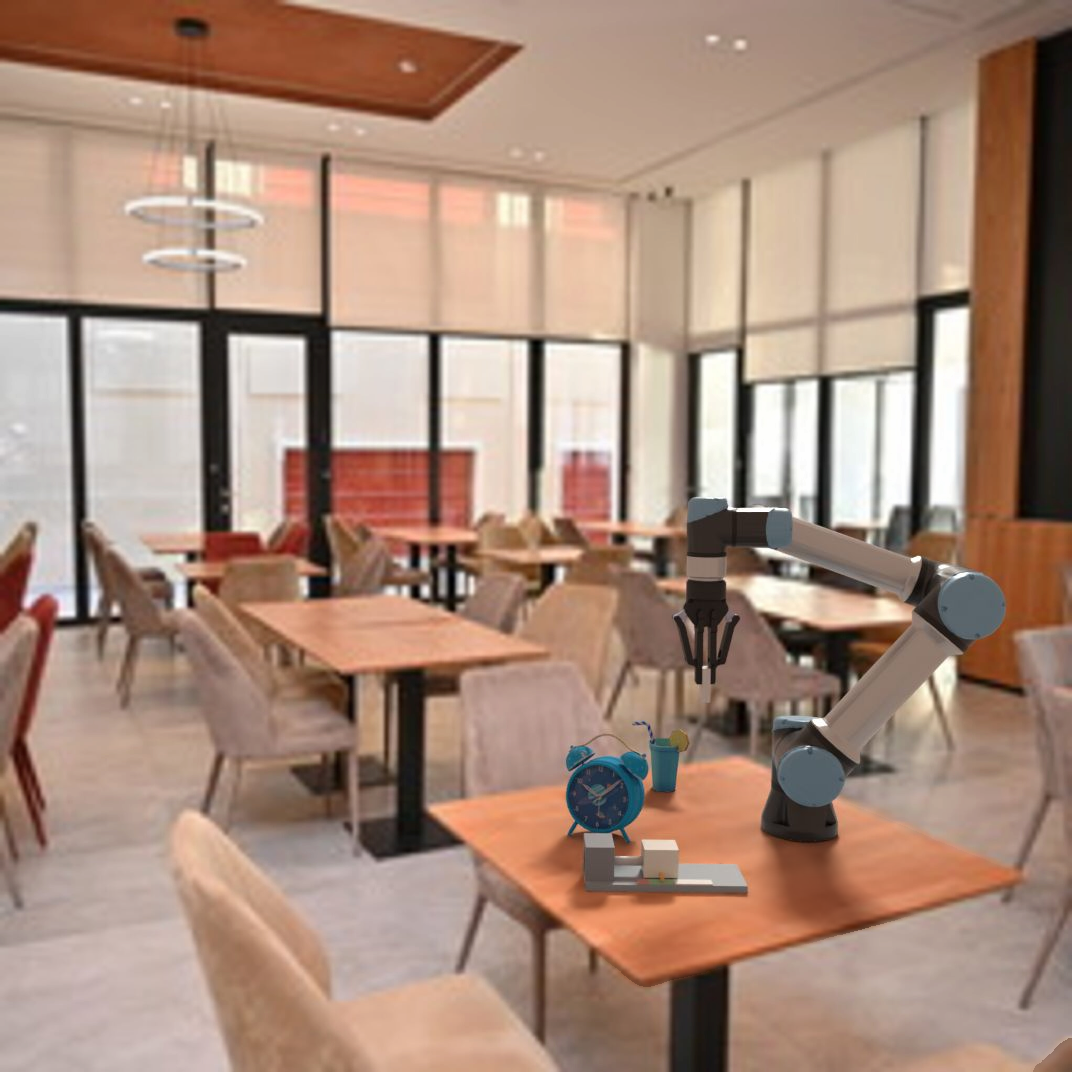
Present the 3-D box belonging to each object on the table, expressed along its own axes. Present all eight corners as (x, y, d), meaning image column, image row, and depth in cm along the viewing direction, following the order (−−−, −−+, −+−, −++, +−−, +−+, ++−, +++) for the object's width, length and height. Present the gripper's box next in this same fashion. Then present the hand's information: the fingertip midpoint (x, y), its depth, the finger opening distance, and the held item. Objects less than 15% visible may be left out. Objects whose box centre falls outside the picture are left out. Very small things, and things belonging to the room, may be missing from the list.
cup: (625, 788, 241) (626, 723, 240) (636, 779, 248) (638, 715, 247) (684, 797, 235) (686, 730, 234) (694, 787, 242) (696, 722, 241)
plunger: (674, 867, 191) (674, 839, 191) (679, 882, 184) (680, 854, 184) (596, 866, 191) (596, 839, 191) (598, 881, 184) (599, 853, 184)
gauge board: (736, 870, 194) (737, 831, 193) (747, 892, 184) (748, 852, 183) (582, 868, 194) (583, 830, 193) (585, 891, 184) (586, 850, 183)
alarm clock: (555, 838, 209) (556, 738, 207) (571, 822, 218) (573, 726, 217) (638, 850, 203) (640, 747, 202) (651, 833, 213) (653, 734, 211)
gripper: (735, 575, 206) (733, 696, 208) (668, 576, 205) (667, 697, 207) (745, 580, 199) (743, 705, 200) (676, 580, 198) (674, 706, 200)
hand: (704, 700), depth 204 cm, fingers closed
